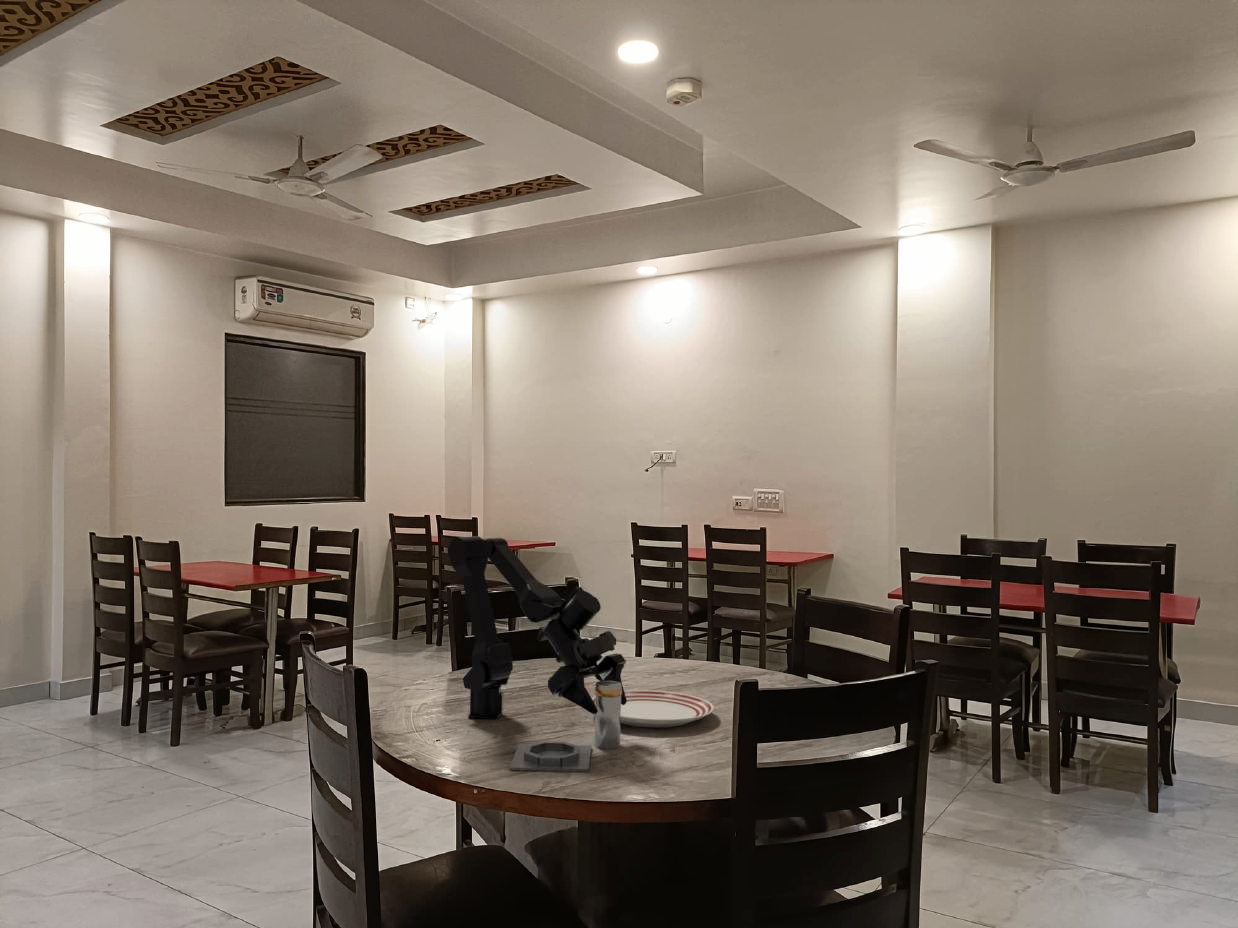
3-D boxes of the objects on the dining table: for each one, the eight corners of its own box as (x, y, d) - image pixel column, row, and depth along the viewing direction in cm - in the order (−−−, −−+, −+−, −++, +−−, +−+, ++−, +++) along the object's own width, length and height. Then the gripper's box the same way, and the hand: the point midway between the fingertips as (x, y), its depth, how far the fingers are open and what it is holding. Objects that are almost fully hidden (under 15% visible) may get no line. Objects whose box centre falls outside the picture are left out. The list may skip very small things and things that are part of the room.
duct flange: (509, 770, 160) (509, 760, 160) (518, 746, 174) (519, 737, 174) (588, 771, 160) (588, 762, 160) (591, 747, 174) (591, 739, 174)
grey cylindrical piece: (593, 748, 173) (594, 686, 174) (594, 740, 179) (595, 680, 179) (620, 749, 173) (621, 686, 173) (620, 741, 179) (621, 680, 179)
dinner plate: (640, 695, 217) (640, 681, 217) (737, 716, 200) (738, 701, 200) (562, 717, 196) (562, 702, 196) (663, 743, 179) (663, 726, 179)
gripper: (559, 624, 172) (604, 692, 165) (619, 613, 187) (662, 675, 180) (528, 660, 176) (571, 727, 169) (589, 647, 191) (630, 708, 184)
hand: (610, 708), depth 176 cm, fingers open, 9 cm apart
